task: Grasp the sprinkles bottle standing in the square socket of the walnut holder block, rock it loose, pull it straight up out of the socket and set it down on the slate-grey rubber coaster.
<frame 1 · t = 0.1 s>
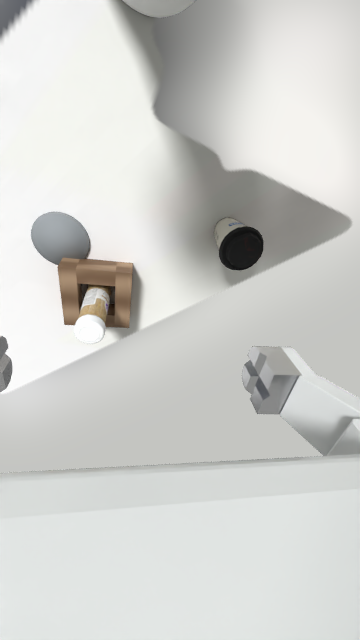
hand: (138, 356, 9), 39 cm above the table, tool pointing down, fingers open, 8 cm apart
coffee cup: (226, 230, 47), on the table
holder block: (99, 289, 51), on the table
sprinkles bottle: (99, 288, 51), resting in holder block
coaster: (61, 239, 44), on the table
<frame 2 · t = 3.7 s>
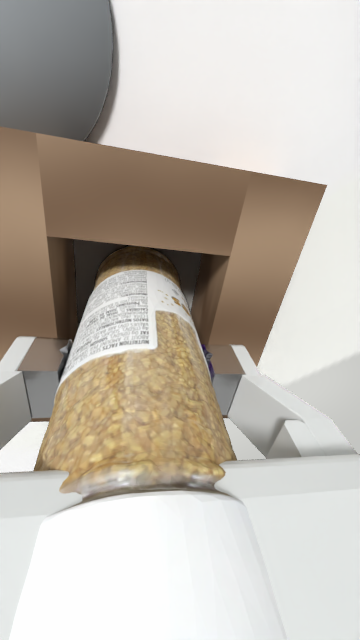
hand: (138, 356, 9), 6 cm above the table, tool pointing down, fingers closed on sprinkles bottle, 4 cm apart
holder block: (137, 284, 14), on the table
sprinkles bottle: (137, 283, 14), resting in holder block, touching gripper
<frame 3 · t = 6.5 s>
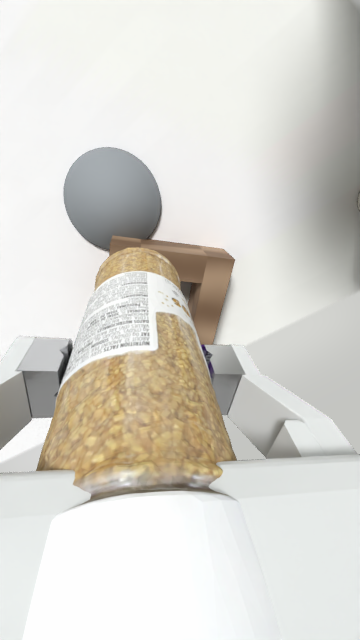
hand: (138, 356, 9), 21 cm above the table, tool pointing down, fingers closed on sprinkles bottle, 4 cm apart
holder block: (163, 293, 31), on the table
sprinkles bottle: (138, 284, 14), point 15 cm above the table, touching gripper
coaster: (114, 202, 25), on the table
when the fingers open (8 cm above the table, at t = 9.8 s): sprinkles bottle drops 1 cm, resting on coaster.
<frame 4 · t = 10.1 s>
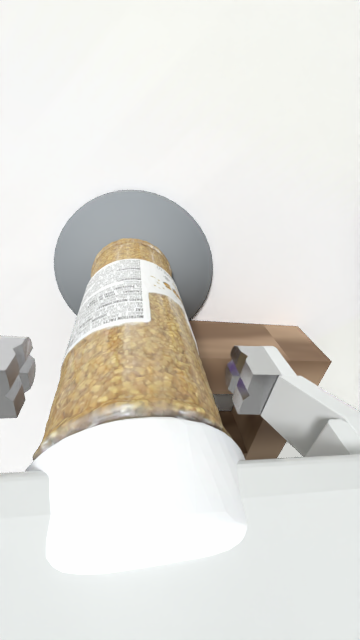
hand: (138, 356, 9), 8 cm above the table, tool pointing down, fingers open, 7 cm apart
holder block: (204, 384, 21), on the table
sprinkles bottle: (131, 273, 15), resting on coaster
coaster: (137, 273, 16), on the table
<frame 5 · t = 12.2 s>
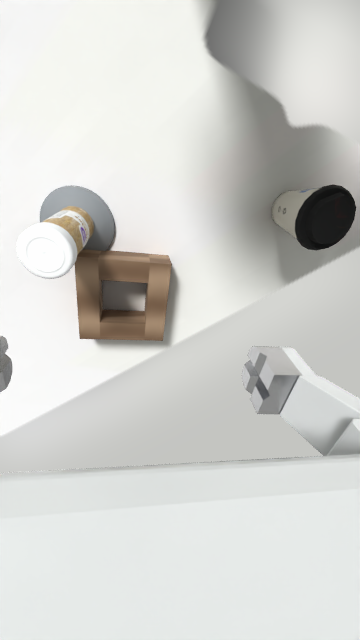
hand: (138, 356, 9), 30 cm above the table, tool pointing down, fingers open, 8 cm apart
coffee cup: (286, 208, 37), on the table
holder block: (124, 291, 39), on the table
sprinkles bottle: (75, 224, 34), resting on coaster
coaster: (78, 224, 34), on the table
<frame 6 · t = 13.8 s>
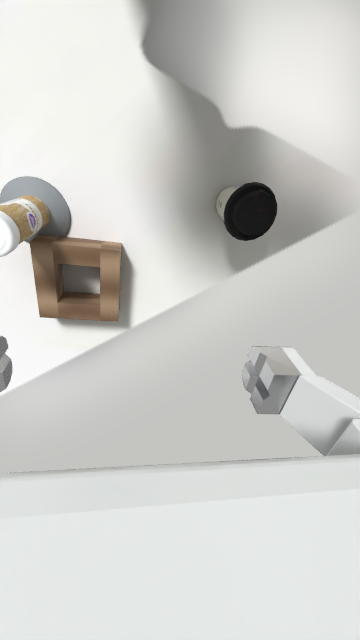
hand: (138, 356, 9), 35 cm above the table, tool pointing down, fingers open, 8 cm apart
coffee cup: (229, 203, 41), on the table
holder block: (82, 275, 43), on the table
sprinkles bottle: (33, 211, 37), resting on coaster
coaster: (36, 212, 37), on the table
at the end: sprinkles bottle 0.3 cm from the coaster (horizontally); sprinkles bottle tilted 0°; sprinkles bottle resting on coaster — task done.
